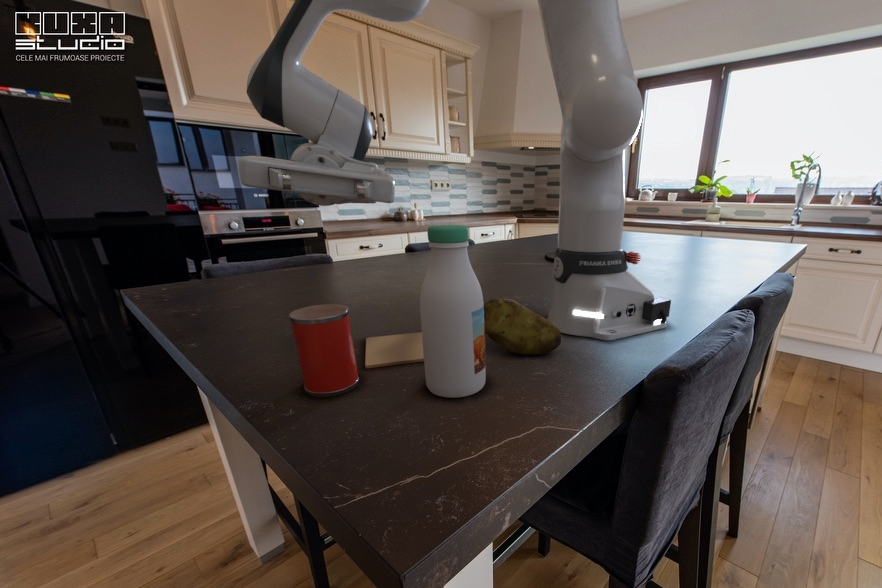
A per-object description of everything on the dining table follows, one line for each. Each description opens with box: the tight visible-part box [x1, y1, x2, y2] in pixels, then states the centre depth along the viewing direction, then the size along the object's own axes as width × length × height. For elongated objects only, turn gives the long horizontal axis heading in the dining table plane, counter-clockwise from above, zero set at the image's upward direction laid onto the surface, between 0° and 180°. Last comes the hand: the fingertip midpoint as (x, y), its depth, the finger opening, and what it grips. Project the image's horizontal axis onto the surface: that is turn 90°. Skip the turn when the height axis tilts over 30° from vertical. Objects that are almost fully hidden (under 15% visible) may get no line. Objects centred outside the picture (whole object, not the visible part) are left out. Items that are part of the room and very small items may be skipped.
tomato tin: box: [288, 303, 360, 398], centre depth 50 cm, size 6×6×10 cm
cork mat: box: [364, 331, 424, 370], centre depth 63 cm, size 12×12×1 cm
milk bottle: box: [419, 224, 487, 399], centre depth 48 cm, size 8×8×20 cm
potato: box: [483, 297, 562, 356], centre depth 62 cm, size 8×13×8 cm, turn 54°
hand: (325, 187), depth 52 cm, fingers open, 8 cm apart
